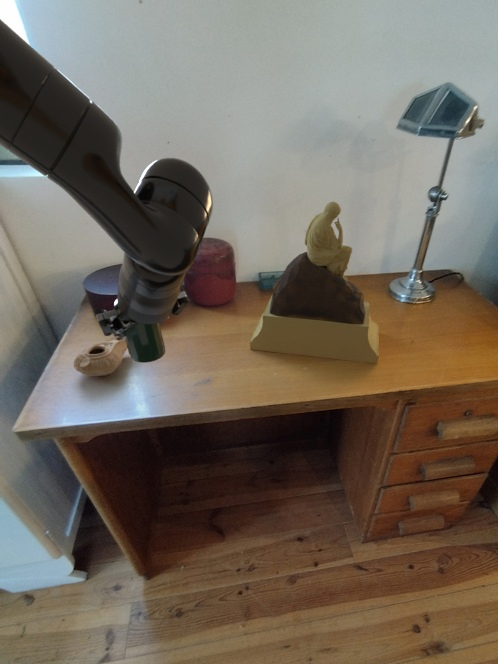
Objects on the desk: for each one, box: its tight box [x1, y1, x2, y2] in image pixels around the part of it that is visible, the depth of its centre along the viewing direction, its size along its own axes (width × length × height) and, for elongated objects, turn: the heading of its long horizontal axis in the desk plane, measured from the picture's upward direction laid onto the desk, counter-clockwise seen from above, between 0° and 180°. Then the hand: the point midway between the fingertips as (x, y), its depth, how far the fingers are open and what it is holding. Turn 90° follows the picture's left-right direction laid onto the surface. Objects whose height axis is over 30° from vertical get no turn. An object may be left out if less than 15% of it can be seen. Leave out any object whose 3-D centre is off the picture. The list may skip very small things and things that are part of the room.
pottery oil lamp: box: [73, 336, 128, 377], centre depth 77 cm, size 9×12×7 cm
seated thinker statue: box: [249, 201, 380, 365], centre depth 78 cm, size 28×13×30 cm, turn 81°
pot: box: [113, 298, 167, 364], centre depth 65 cm, size 6×6×10 cm
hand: (138, 326), depth 66 cm, fingers closed on pot, 6 cm apart
